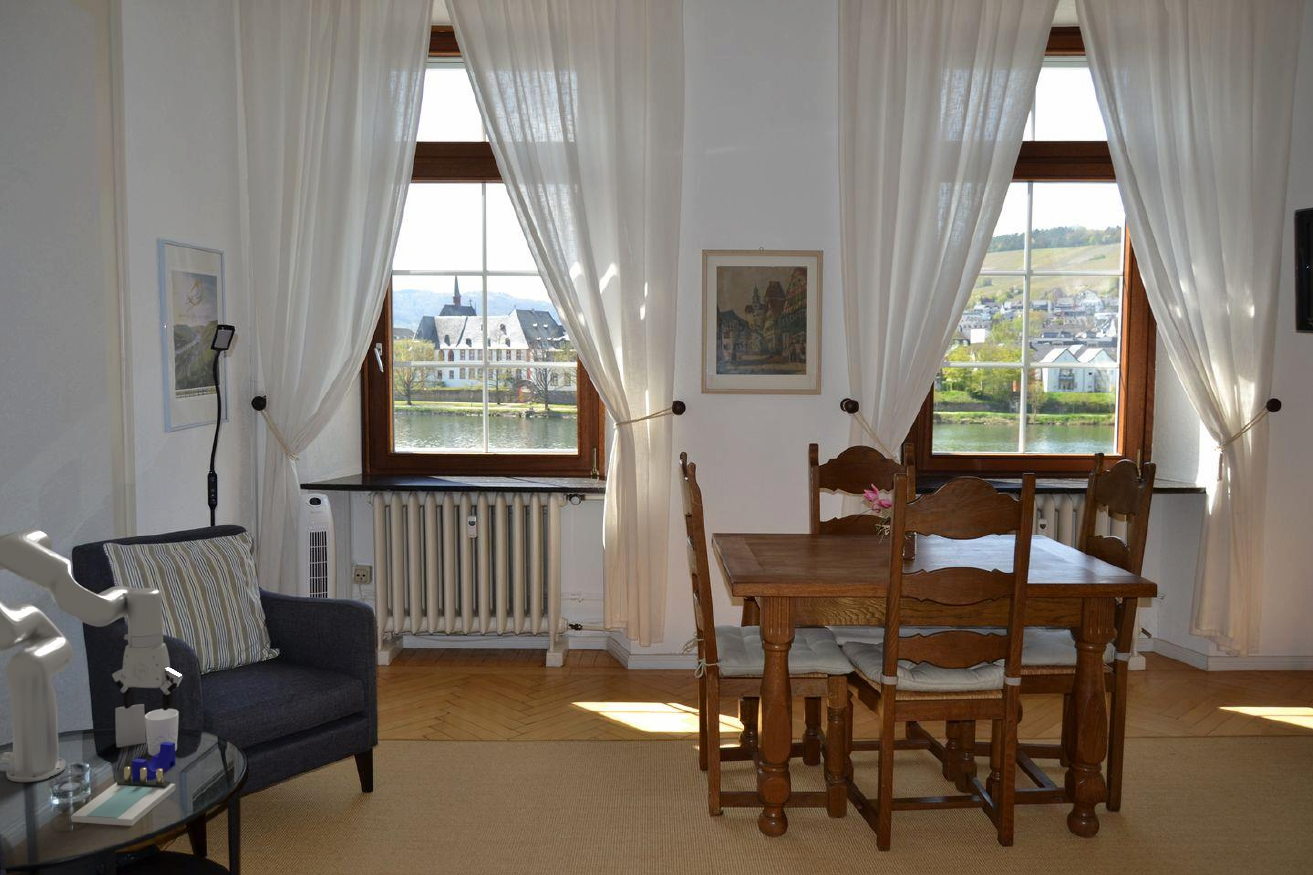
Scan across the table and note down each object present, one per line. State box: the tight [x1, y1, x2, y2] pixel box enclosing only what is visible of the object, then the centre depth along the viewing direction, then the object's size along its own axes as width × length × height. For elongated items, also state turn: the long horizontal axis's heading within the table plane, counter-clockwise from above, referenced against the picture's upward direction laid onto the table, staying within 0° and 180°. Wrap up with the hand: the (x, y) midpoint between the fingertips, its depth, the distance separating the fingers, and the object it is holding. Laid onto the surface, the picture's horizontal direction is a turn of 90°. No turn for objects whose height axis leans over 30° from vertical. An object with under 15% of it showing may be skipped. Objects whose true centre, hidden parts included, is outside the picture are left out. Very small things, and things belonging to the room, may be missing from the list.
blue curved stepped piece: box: [131, 742, 176, 780], centre depth 256 cm, size 12×4×6 cm, turn 169°
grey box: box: [114, 703, 147, 748], centre depth 274 cm, size 4×7×10 cm, turn 120°
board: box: [70, 781, 176, 827], centre depth 239 cm, size 14×18×2 cm
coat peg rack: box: [116, 765, 171, 788], centre depth 247 cm, size 12×2×4 cm, turn 86°
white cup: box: [145, 708, 179, 757], centre depth 269 cm, size 8×8×10 cm
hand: (148, 707), depth 254 cm, fingers open, 9 cm apart
